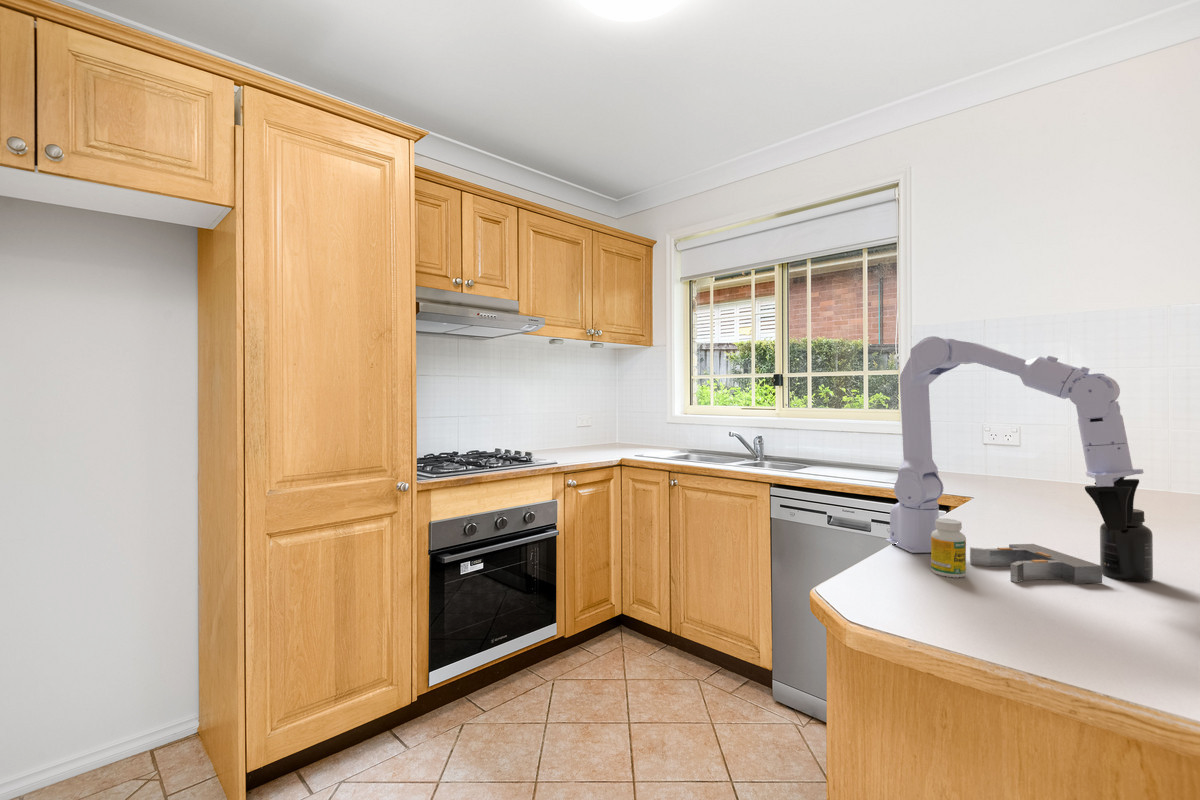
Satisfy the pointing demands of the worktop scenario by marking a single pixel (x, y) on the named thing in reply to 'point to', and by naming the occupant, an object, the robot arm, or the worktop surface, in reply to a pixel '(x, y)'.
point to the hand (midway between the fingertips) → (1120, 526)
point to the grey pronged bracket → (1038, 563)
